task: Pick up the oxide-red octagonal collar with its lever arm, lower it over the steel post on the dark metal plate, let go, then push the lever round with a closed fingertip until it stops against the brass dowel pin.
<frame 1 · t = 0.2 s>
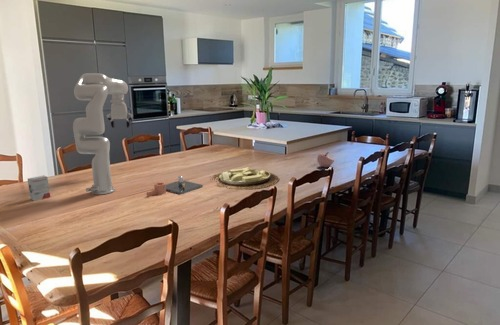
hand: (120, 127, 248), 31 cm above the table, tool pointing down, fingers open, 9 cm apart
ink box: (40, 198, 200), on the table
plate: (244, 180, 236), on the table
post plate: (181, 187, 218), on the table
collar: (147, 196, 203), on the table
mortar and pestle: (325, 167, 267), on the table
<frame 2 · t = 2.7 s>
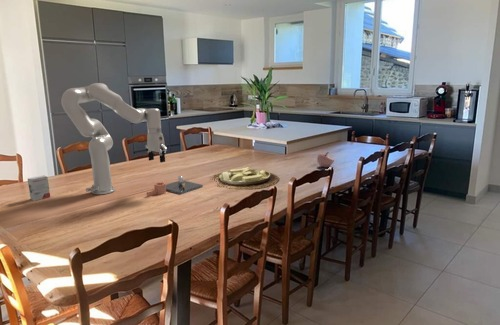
hand: (156, 161, 209), 18 cm above the table, tool pointing down, fingers open, 9 cm apart
nothing on the table moved.
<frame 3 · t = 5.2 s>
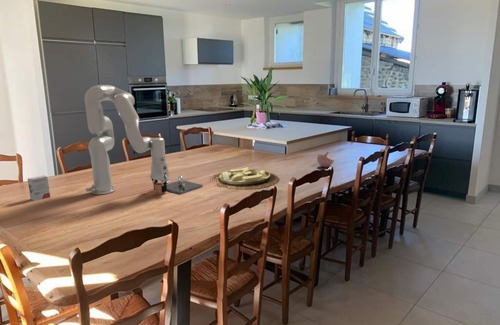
hand: (160, 190, 209), 1 cm above the table, tool pointing down, fingers closed on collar, 6 cm apart
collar: (147, 196, 203), on the table, touching gripper
everything else where it was.
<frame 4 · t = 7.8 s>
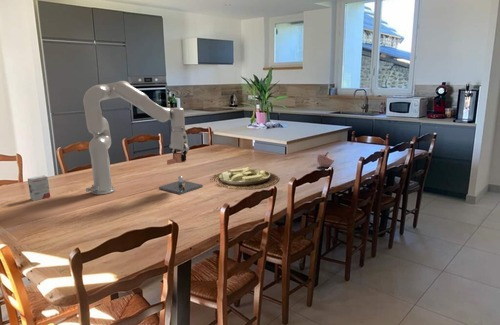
hand: (179, 160, 214), 17 cm above the table, tool pointing down, fingers closed on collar, 6 cm apart
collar: (167, 164, 208), point 16 cm above the table, touching gripper
everything else where it was.
when the fingers open (3 cm above the table, at t = 10.6 s): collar stays where it is, resting on post plate.
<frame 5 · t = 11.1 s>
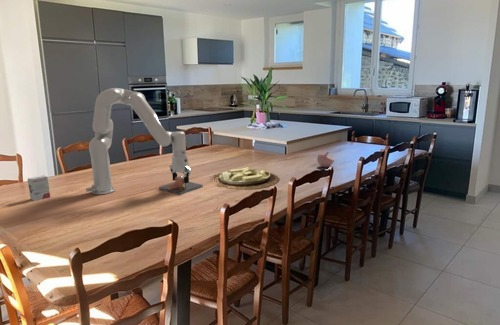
hand: (180, 181, 217), 4 cm above the table, tool pointing down, fingers open, 9 cm apart
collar: (169, 189, 211), point 1 cm above the table, touching post plate
everything else where it was.
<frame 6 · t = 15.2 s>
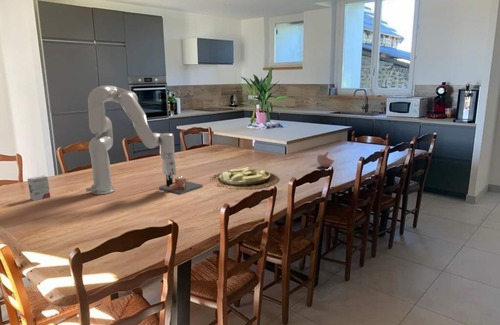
hand: (169, 186, 213), 2 cm above the table, tool pointing down, fingers closed
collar: (170, 189, 210), point 1 cm above the table, touching gripper
everything else where it was.
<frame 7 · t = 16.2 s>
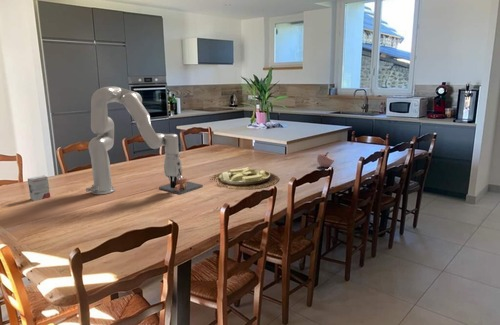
hand: (173, 187, 211), 2 cm above the table, tool pointing down, fingers closed
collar: (176, 190, 209), point 1 cm above the table, touching gripper, post plate
everything else where it was.
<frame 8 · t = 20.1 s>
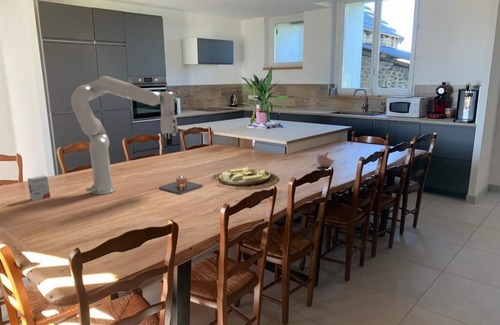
hand: (169, 145, 216), 25 cm above the table, tool pointing down, fingers closed
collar: (181, 190, 209), point 1 cm above the table, touching post plate
everything else where it was.
at the end: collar 0.3 cm from the target spot on the post plate, point 1.2 cm above the post plate's base; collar tilted 0°; the gripper is holding nothing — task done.
